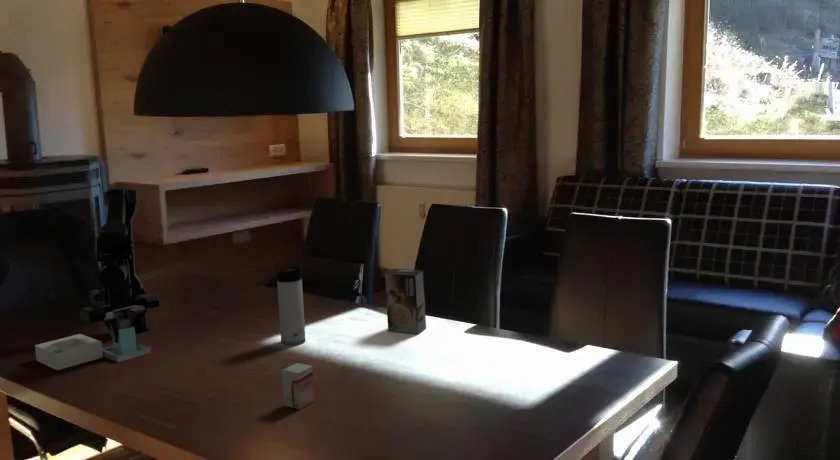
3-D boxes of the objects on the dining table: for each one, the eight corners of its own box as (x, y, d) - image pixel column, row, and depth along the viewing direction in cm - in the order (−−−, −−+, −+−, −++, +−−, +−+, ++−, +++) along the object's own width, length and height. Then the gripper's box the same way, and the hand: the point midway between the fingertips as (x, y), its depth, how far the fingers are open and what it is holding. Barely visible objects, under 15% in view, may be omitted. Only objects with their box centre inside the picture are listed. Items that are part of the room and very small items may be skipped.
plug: (129, 350, 199) (125, 316, 197) (137, 353, 196) (133, 319, 194) (114, 354, 196) (110, 320, 194) (122, 357, 193) (118, 322, 192)
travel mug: (301, 346, 197) (297, 269, 194) (277, 345, 199) (272, 269, 195) (310, 338, 203) (305, 264, 200) (286, 338, 205) (281, 264, 201)
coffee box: (427, 327, 210) (425, 270, 207) (418, 334, 204) (416, 275, 201) (396, 325, 213) (394, 268, 210) (386, 331, 207) (384, 273, 204)
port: (81, 348, 201) (80, 332, 201) (103, 357, 194) (101, 340, 193) (36, 360, 193) (34, 344, 192) (57, 370, 185) (55, 353, 185)
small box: (300, 410, 157) (297, 373, 156) (283, 406, 159) (281, 369, 158) (315, 401, 161) (313, 365, 160) (299, 397, 163) (297, 362, 162)
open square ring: (133, 345, 202) (132, 340, 202) (151, 352, 196) (150, 346, 196) (99, 355, 195) (99, 349, 195) (117, 362, 190) (117, 356, 189)
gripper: (136, 269, 205) (141, 326, 207) (66, 283, 191) (73, 344, 194) (158, 274, 197) (164, 333, 200) (87, 289, 184) (94, 352, 186)
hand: (124, 340), depth 195 cm, fingers closed on plug, 4 cm apart
